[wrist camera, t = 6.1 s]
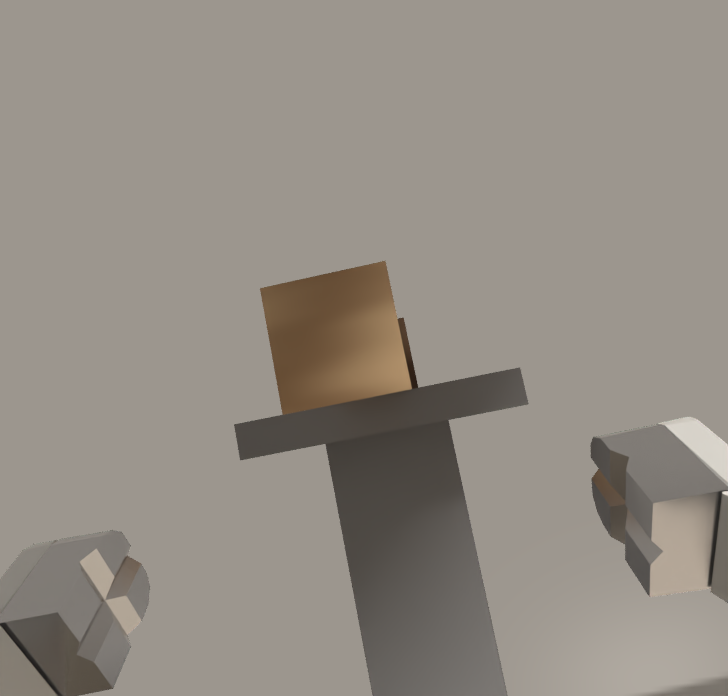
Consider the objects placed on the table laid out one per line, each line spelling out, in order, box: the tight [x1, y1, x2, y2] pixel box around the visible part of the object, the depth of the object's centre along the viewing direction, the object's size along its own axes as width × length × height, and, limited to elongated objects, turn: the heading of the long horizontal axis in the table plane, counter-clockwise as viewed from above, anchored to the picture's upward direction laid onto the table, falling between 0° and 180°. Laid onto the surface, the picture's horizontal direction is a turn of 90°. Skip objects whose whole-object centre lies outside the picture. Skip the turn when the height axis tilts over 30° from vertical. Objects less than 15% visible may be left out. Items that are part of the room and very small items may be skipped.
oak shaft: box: [260, 261, 418, 415], centre depth 21 cm, size 4×20×4 cm, turn 175°
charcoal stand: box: [234, 368, 528, 696], centre depth 25 cm, size 12×13×26 cm
